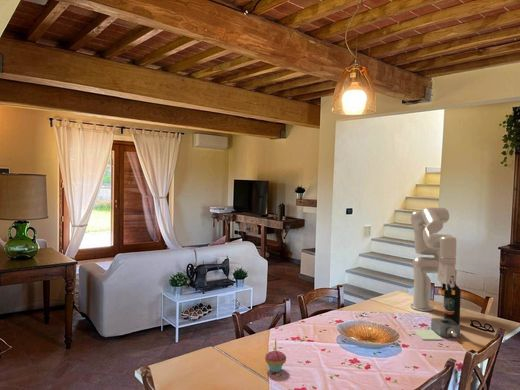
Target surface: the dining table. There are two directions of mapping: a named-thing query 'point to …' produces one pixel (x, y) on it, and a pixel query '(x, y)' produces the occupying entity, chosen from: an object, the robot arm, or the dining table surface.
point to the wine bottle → (454, 306)
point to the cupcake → (275, 360)
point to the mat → (427, 335)
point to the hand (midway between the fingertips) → (446, 296)
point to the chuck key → (446, 300)
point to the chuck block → (445, 327)
